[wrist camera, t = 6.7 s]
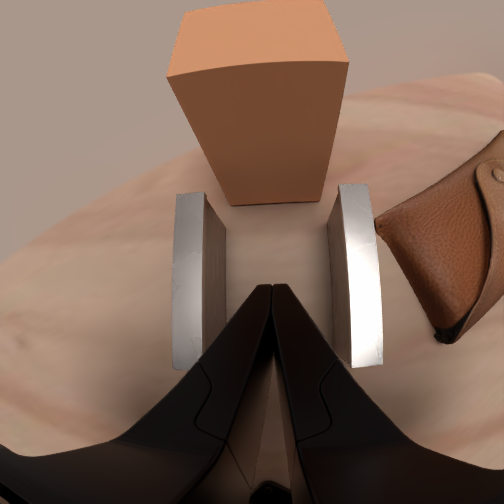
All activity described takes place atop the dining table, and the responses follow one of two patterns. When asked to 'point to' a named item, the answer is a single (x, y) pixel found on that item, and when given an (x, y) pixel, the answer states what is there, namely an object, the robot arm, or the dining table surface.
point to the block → (262, 95)
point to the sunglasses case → (453, 242)
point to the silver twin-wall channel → (214, 278)
